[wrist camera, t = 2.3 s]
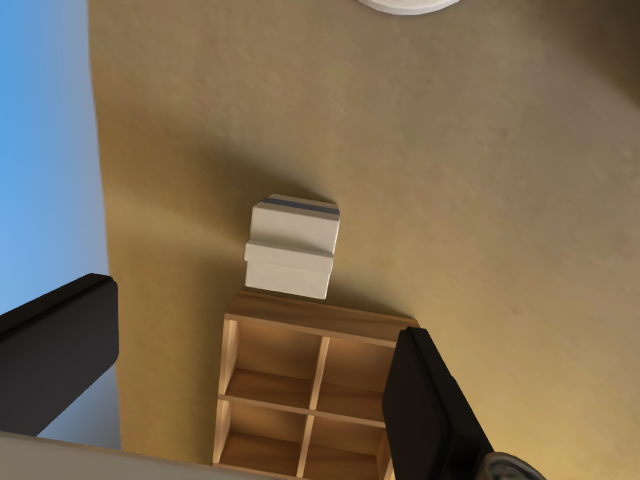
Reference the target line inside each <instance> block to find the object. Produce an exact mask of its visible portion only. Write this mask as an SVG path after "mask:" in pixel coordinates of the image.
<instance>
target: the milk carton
mask: <svg viewBox="0 0 640 480" xmlns="http://www.w3.org/2000/svg"><path fill="white" fill-rule="evenodd" d="M339 218H340V211H339V205H338V204H332V203H326V202H320V201H314V200H308V199H302V198H296V197H290V196H284V195H279V194H272V195H270V196H269V197H266V198H264V199H262V200H261V201H260V202H259V203H258V204H256V205H255V206H253V208H252V218H251V228H250V239H249V240H248V241H247V242H246V245H245V255H244V260H247V269H246V279H245V286H248V287H254V288H260V289H266V290H272V291H278V292H284V293H290V294H295V295H301V296H307V297H313V298H319V299H325V298H326V293H327V288H328V282H329V277H330V274H331V270H332V265H333V259H334V250H335V244H336V239H337V233H338V228H339V223H340V221H339Z"/></svg>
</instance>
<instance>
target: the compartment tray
mask: <svg viewBox="0 0 640 480" xmlns="http://www.w3.org/2000/svg"><path fill="white" fill-rule="evenodd" d="M408 326H411V327H417V328H420V326H419V324H418V322H417V320H414V319H408V318H402V317H396V316H390V315H384V314H378V313H373V312H367V311H361V310H355V309H349V308H343V307H337V306H331V305H325V304H320V303H314V302H308V301H302V300H296V299H290V298H284V297H278V296H272V295H266V294H261V293H255V292H249V291H243V290H240V291H239V293H238V294H237V296H236V297H235V299H234V300H233V301H232V303H231V304H230V306H229V307H228V309H227V310H226V312H225V313H224V325H223V337H222V349H221V362H220V374H219V386H218V398H217V411H216V423H215V436H214V448H213V460H212V466H214V467H220V468H226V469H232V470H237V471H243V472H249V473H254V474H260V475H266V476H272V477H277V478H283V479H289V480H390V478H391V474H392V471H393V464H392V458H391V453H390V448H389V443H388V437H387V432H386V427H385V422H384V416H383V411H382V397H383V393H384V389H385V385H386V381H387V378H388V374H389V370H390V366H391V362H392V359H393V355H394V351H395V347H396V343H397V340H398V336H399V332H400V330H401V329H402V330H405V329H406V328H407V327H408Z"/></svg>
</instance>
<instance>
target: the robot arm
mask: <svg viewBox="0 0 640 480" xmlns="http://www.w3.org/2000/svg"><path fill="white" fill-rule="evenodd" d="M357 1H359V2H360V3H363V4H365V5H367V6H369V7H371V8H373V9H375V10H377V11H381V12H386V13H390V14H395V15H419V14H424V13H429V12H433V11H438V10H440V9H442V8H445V7H447V6H449V5H451V4H454V3H456V2H458V1H460V0H357ZM118 355H119V329H118V286H117V283H116V282H115V281H114V280H113V278H112V277H111V276H107V275H101V274H94V273H90V274H87V275H85V276H83V277H81V278H78V279H77V280H74V281H72V282H70V283H68V284H66V285H63V286H61V287H59V288H57V289H55V290H53V291H51V292H49V293H47V294H44V295H42V296H40V297H38V298H36V299H34V300H32V301H30V302H27V303H26V304H23V305H21V306H19V307H17V308H15V309H13V310H11V311H8V312H6V313H4V314H2V315H0V480H289V479H283V478H277V477H272V476H266V475H260V474H254V473H249V472H243V471H237V470H232V469H226V468H220V467H214V466H208V465H202V464H197V463H191V462H185V461H179V460H173V459H167V458H161V457H155V456H149V455H143V454H137V453H131V452H125V451H119V450H113V449H107V448H101V447H95V446H89V445H84V444H77V443H71V442H64V441H59V440H53V439H46V438H40V437H36V436H37V435H38V434H39V433H40V432H41V431H43V430H44V429H45V428H46V427H47V426H48V425H49V424H50V423H51V422H52V421H53V420H54V419H55V418H56V417H57V416H59V414H61V413H62V412H63V411H64V410H65V409H66V408H67V407H68V406H69V405H70V404H71V403H72V402H73V401H74V400H76V399H77V398H78V397H79V396H80V395H81V394H82V393H83V392H84V391H85V390H86V389H87V388H88V387H89V386H91V385H92V384H93V383H94V382H95V381H96V380H97V379H98V378H99V377H100V376H101V375H102V374H103V373H105V372H106V371H107V370H108V369H109V368H110V367H111V366H112V365H113V364H114V363H115V361H116V360H117V358H118ZM382 411H383V416H384V422H385V427H386V432H387V437H388V443H389V448H390V453H391V458H392V464H393V469H394V474H395V479H396V480H547V479H546V478H545V477H544V476H543V475H542V474H541V473H540V472H538V471H537V470H536V469H535V468H533V467H532V466H531V465H529V464H528V463H526V462H525V461H523V460H521V459H519V458H517V457H516V456H513V455H510V454H507V453H504V452H495V451H494V450H493V448H492V446H491V444H490V442H489V440H488V439H487V437H486V435H485V433H484V431H483V429H482V428H481V426H480V424H479V422H478V420H477V418H476V417H475V415H474V413H473V411H472V409H471V407H470V406H469V404H468V402H467V400H466V398H465V396H464V395H463V393H462V391H461V389H460V387H459V385H458V384H457V382H456V380H455V379H454V377H453V376H451V374H450V372H449V370H448V369H447V367H446V365H445V363H444V361H443V359H442V357H441V356H440V354H439V352H438V350H437V348H436V346H435V344H434V342H433V341H432V339H431V337H430V335H429V333H428V331H427V330H426V329H423V328H417V327H411V326H408V327H407V328H406V329H405V330H402V329H401V330H400V332H399V336H398V340H397V343H396V347H395V351H394V355H393V359H392V362H391V366H390V370H389V374H388V378H387V381H386V385H385V389H384V393H383V397H382Z"/></svg>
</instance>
